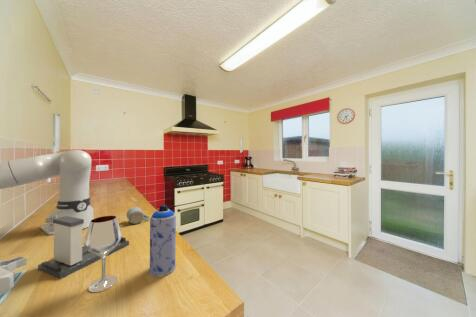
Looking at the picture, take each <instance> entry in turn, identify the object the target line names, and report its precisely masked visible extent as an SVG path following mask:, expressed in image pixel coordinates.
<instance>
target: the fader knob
mask: <svg viewBox="0 0 476 317" xmlns="http://www.w3.org/2000/svg"><path fill="white" fill-rule="evenodd" d="M53 223H54V234H53V259H54V260H56V261H59V262H62V263H64V264H67V265H70V266H71V265H73V264H75V263H77V262H80V261H82V247H83V229H82V225H83V223H84V219H79V218H74V217H69V216H64V217H60V218H56V219H53Z"/></svg>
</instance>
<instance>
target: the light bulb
mask: <svg viewBox="0 0 476 317" xmlns="http://www.w3.org/2000/svg"><path fill="white" fill-rule="evenodd" d="M126 219H127V220H128V221H129V223H130V224H131V225H137V224H140V223H141V222H143V221H146V222H147V221H150V216H148V215H146V214H145V213H144V211H143V209H142V208H141V207H139V206H132V207H131V208H129V209H128V210H127V211H126Z"/></svg>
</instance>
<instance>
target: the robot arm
mask: <svg viewBox="0 0 476 317" xmlns="http://www.w3.org/2000/svg"><path fill="white" fill-rule="evenodd" d="M91 173H92V156H91V155H90V154H89V153H88V152H86V151H84V150H82V149H71V150H66V151H60V152H53V153H47V154H41V155H34V156H29V157H23V158H16V159H10V160H4V161H0V190H4V189H7V188H9V189H10V188H13V187H19V186H22V185H26V184H31V183H34V182H39V181H44V180H48V179H52V178H55V177H59V181H58V182H59V184H58V201H56V202H57V203H56V207H55V208H56V209H55V210H54V211H52V213H50V214H49V215H48V216H47V217H46V218H45V224H44V225H41V226H40V229H41V230H42V231H43V232H44V233H46V235H51V236H53V235H54V223H53V219H56V218H60V217H64V216H69V217H74V218H79V219H84V223H83V225H82V230H83V229H84V230H85V229H88V227H89V224H90V221H91V220H93V219H95V218H94V209H93V206H92V205H91V201H92V200H91V197H90V181H91ZM27 261H28V260H27V258H25V257H23V256H17V257H13V258H12V259H5V260H0V296H2V295H4V294H6V293H7V292H9V290H11V289H12V288H13V287H14V285H15V280H14V278H15V275H14V273H13V271H15V270H17V269H18V268H21V267H24V266H26V265H27Z"/></svg>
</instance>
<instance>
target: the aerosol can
mask: <svg viewBox="0 0 476 317" xmlns="http://www.w3.org/2000/svg"><path fill="white" fill-rule="evenodd" d="M158 208H159V209H157V210H156V211H154V212H153V213H152V214H151V216H150V217H149V269H148V274H149V275H150V277H153V278H161V277H167V276H168V275H170V274H172V273H173V272H174V271H175V269H176V268H177V264H176V241H177V240H176V238H177V237H176V236H177V235H176V233H177V232H176V226H177V218H176V213H175V212H174V211H173V210H171V209H169V208H168V205H166V204H161V205H159V206H158Z"/></svg>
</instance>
